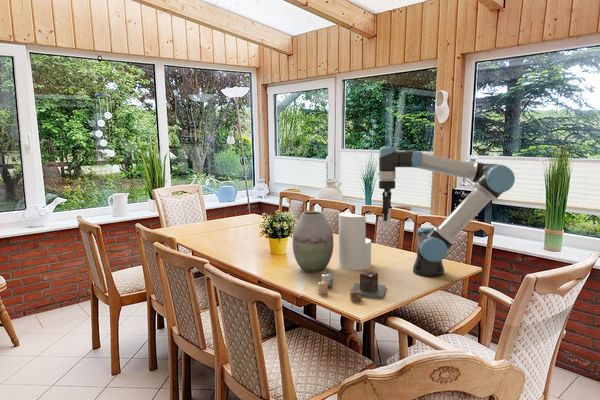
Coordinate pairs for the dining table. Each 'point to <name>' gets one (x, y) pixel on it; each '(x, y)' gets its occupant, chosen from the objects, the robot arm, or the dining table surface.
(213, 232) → the dining table surface
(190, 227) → the dining table surface
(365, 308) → the dining table surface
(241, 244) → the dining table surface
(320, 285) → the peach rounded capsule
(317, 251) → the vase
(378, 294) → the slate board
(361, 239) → the cylinder
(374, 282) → the box
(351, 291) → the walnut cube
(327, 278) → the metal-capped glass jar
